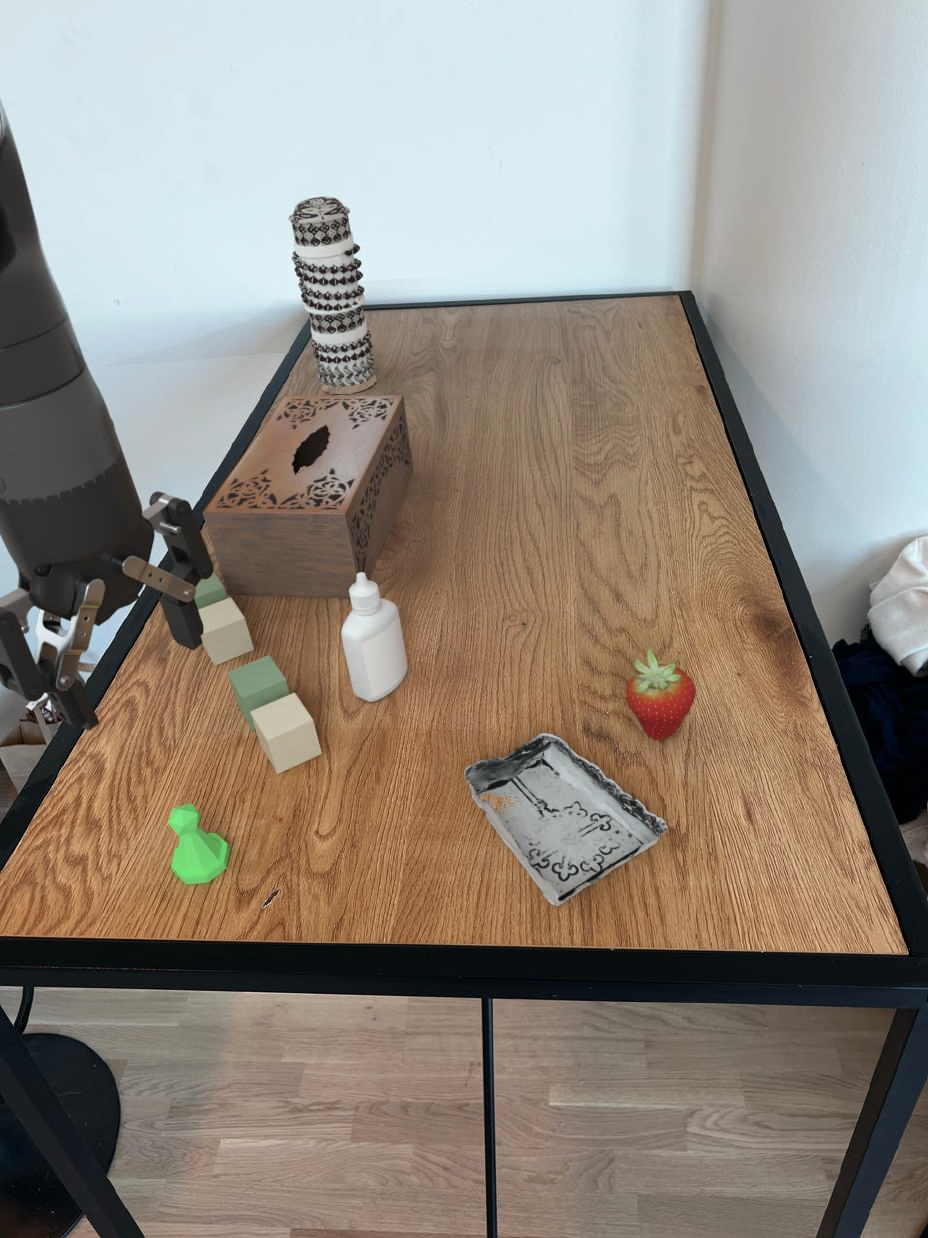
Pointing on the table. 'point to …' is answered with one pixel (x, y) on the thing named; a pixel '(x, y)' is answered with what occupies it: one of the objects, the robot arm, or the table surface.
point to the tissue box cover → (312, 496)
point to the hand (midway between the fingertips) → (139, 682)
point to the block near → (286, 732)
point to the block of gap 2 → (257, 685)
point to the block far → (209, 592)
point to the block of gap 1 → (224, 631)
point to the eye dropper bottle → (373, 642)
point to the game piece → (196, 848)
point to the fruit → (660, 696)
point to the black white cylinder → (332, 291)
